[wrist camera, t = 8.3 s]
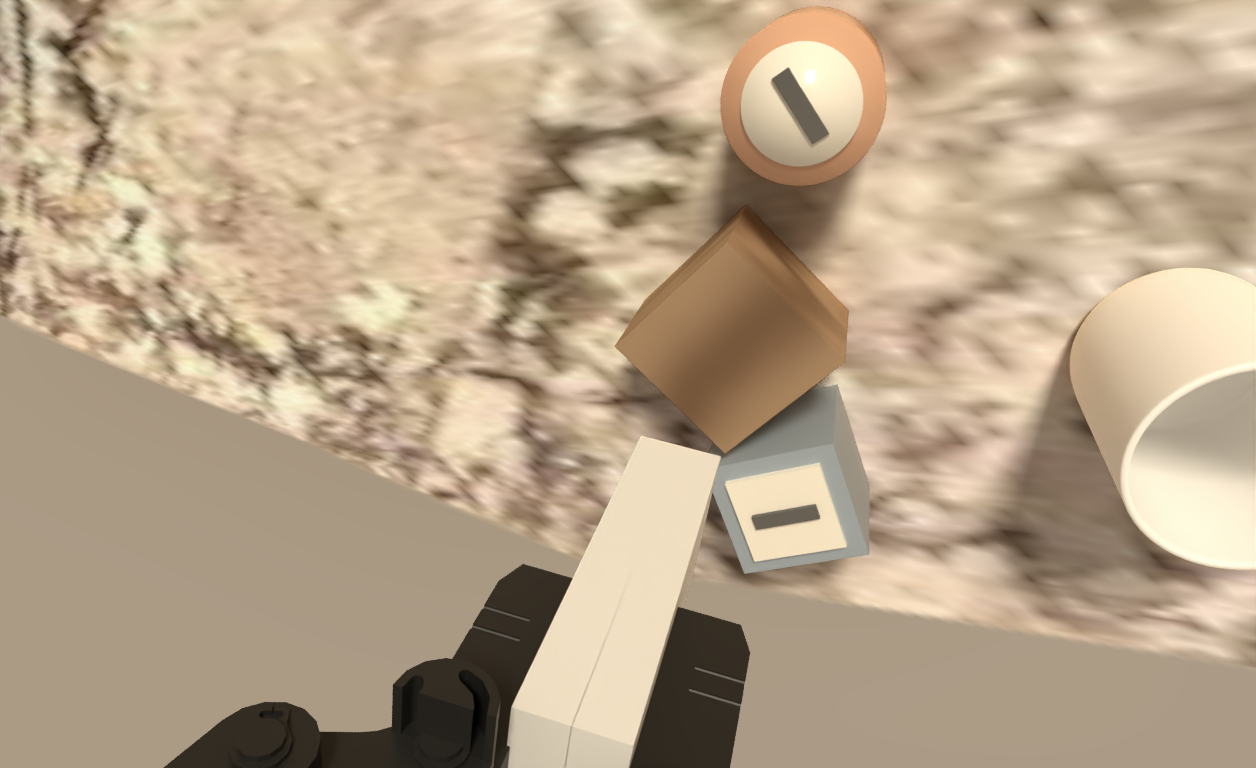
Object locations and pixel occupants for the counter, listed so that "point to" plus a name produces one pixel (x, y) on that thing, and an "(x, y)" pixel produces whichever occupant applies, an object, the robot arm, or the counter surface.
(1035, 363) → the counter surface
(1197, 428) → the cup
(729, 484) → the slate block
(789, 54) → the terracotta cylinder
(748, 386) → the walnut block
